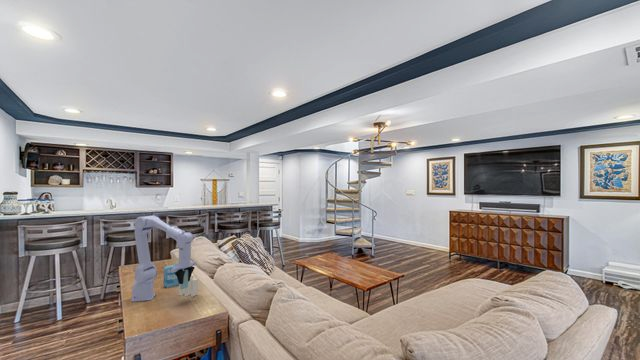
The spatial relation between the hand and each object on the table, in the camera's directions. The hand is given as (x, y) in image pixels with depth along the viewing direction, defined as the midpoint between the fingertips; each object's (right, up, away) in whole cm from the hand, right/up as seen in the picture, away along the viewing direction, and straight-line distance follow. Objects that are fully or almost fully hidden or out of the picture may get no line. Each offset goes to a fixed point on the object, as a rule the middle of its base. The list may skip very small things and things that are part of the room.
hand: (184, 282), depth 147 cm
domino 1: (-6, -11, +11) cm, 16 cm away
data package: (-18, -11, +26) cm, 33 cm away
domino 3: (+1, -11, +8) cm, 13 cm away
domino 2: (-2, -11, +9) cm, 14 cm away
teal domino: (0, -3, 0) cm, 3 cm away
